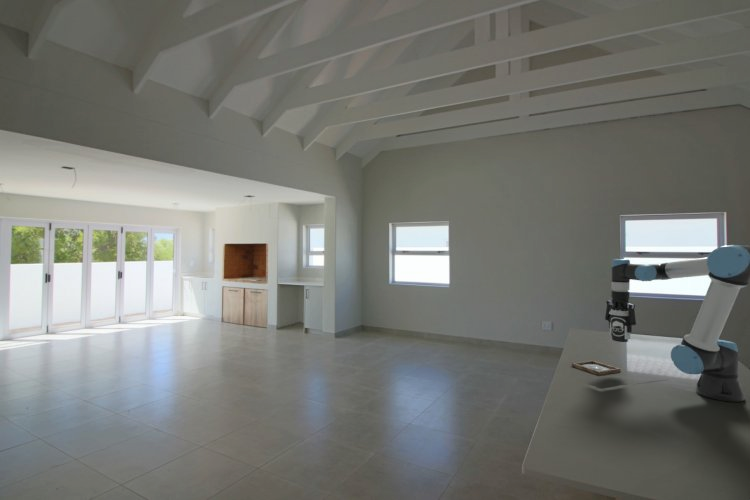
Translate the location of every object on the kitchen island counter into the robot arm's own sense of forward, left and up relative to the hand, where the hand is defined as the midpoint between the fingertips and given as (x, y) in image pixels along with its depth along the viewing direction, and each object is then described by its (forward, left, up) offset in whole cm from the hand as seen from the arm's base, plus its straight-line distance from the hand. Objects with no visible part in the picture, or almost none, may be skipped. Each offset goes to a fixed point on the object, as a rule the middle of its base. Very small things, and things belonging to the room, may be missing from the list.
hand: (619, 337), depth 194 cm
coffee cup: (0, 0, -2) cm, 2 cm away
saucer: (+7, +8, -17) cm, 20 cm away
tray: (+7, +8, -18) cm, 21 cm away
